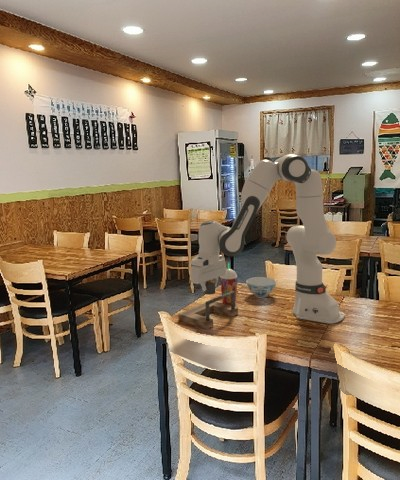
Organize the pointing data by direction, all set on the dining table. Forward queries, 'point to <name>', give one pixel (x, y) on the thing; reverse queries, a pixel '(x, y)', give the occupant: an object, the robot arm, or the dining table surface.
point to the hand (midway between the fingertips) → (209, 289)
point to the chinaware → (261, 286)
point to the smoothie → (228, 284)
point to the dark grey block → (210, 287)
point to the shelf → (201, 311)
